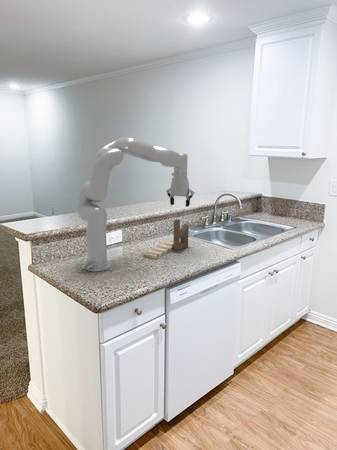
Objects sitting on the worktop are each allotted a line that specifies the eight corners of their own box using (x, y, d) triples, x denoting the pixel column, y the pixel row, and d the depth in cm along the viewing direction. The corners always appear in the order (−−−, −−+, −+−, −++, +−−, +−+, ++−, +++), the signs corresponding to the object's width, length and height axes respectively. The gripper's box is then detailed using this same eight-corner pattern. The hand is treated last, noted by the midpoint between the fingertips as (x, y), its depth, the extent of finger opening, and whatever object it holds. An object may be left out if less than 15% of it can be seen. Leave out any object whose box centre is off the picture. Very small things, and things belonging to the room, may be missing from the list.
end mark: (179, 253, 196) (179, 252, 196) (170, 251, 198) (170, 251, 198) (189, 247, 208) (189, 246, 208) (181, 245, 210) (181, 245, 210)
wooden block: (188, 247, 206) (189, 218, 202) (176, 251, 198) (177, 220, 194) (183, 246, 208) (184, 217, 204) (171, 250, 200) (172, 219, 196)
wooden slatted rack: (156, 259, 185) (156, 256, 184) (143, 257, 188) (143, 253, 188) (180, 245, 211) (180, 242, 210) (168, 244, 214) (168, 240, 214)
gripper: (163, 175, 194) (163, 205, 198) (191, 176, 186) (190, 208, 190) (169, 174, 200) (169, 203, 204) (197, 176, 193) (196, 206, 197)
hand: (179, 205), depth 197 cm, fingers open, 9 cm apart
